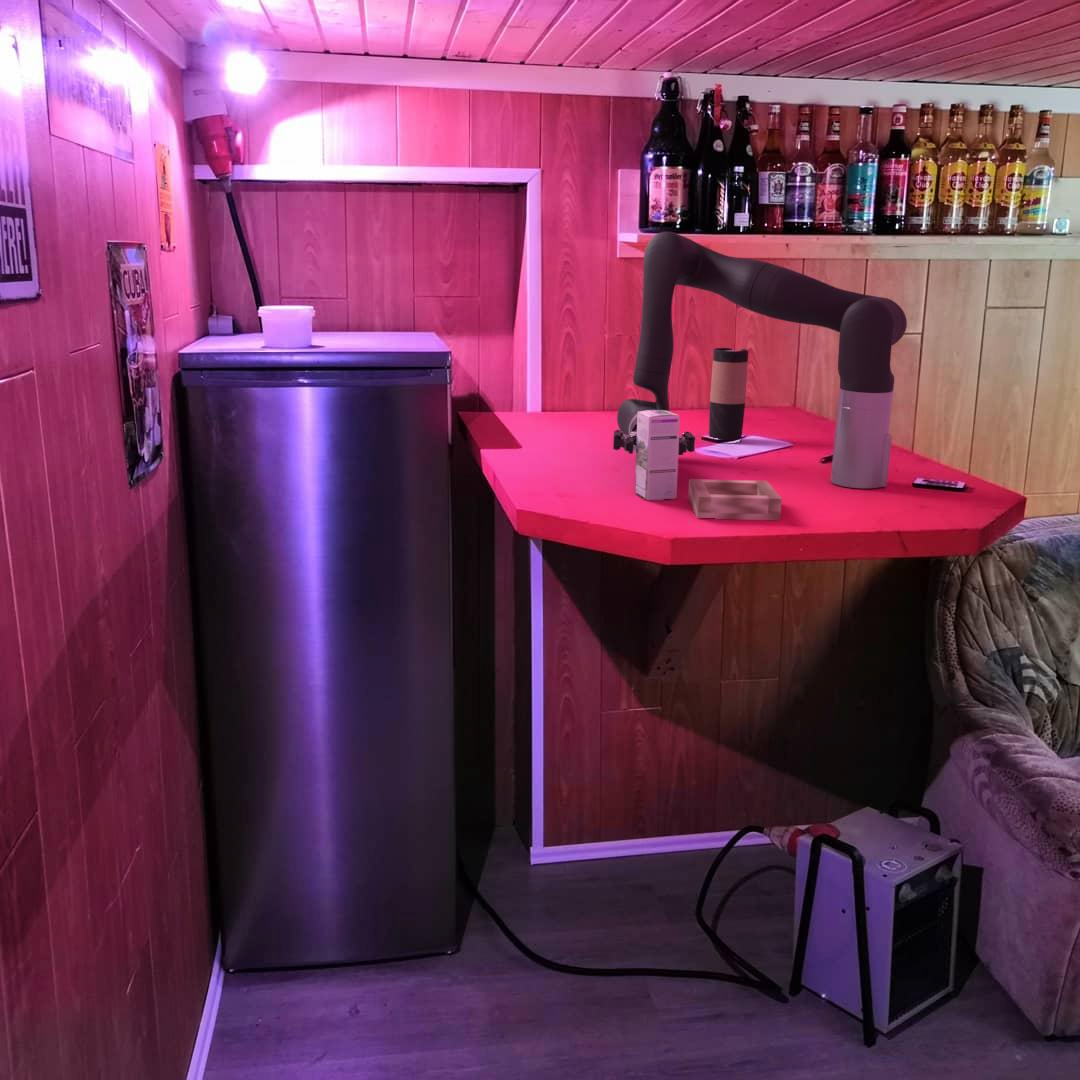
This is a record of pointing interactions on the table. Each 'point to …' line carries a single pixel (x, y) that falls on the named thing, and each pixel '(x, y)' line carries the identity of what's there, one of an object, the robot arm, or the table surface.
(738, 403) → the travel mug
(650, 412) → the syrup box
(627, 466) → the table surface
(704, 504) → the holder
